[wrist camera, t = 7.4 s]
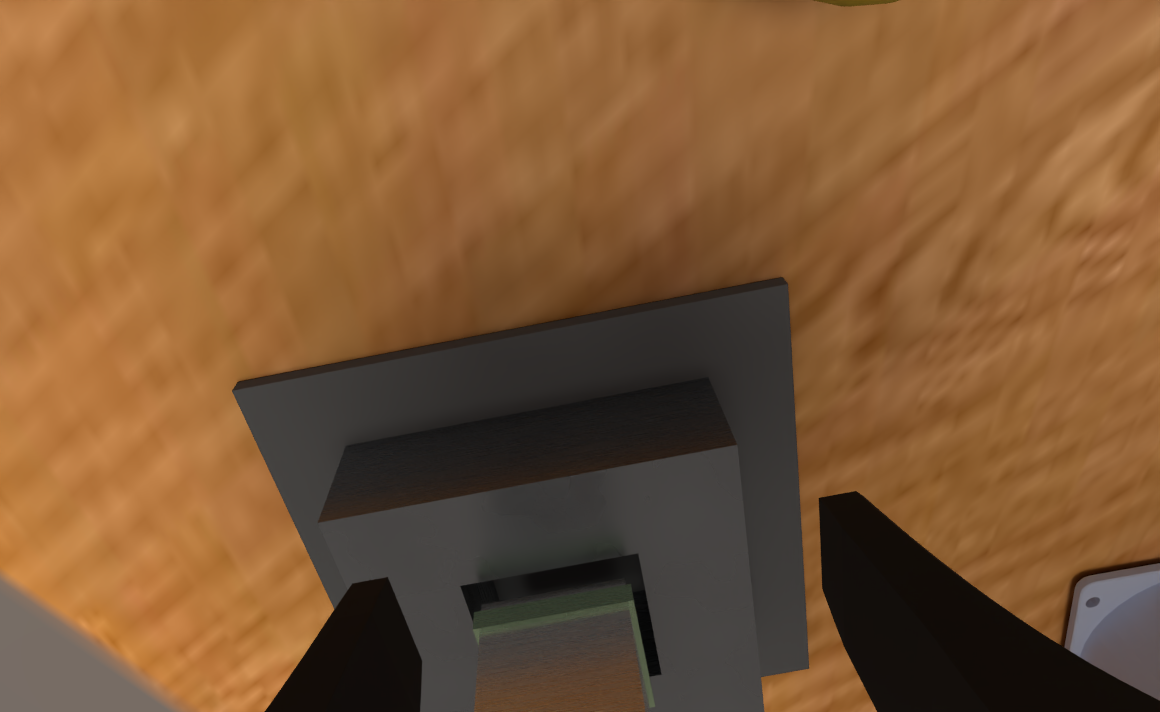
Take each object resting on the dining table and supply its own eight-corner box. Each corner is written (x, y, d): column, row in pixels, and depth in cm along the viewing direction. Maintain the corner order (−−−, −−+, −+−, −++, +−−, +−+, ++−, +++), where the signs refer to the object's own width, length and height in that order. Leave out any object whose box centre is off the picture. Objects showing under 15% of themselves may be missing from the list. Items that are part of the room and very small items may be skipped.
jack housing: (739, 642, 28) (765, 728, 25) (445, 694, 28) (435, 785, 25) (708, 377, 22) (737, 444, 19) (345, 445, 23) (317, 522, 20)
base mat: (804, 657, 29) (809, 668, 29) (398, 729, 30) (396, 741, 29) (782, 277, 22) (788, 284, 21) (238, 382, 22) (232, 390, 22)
